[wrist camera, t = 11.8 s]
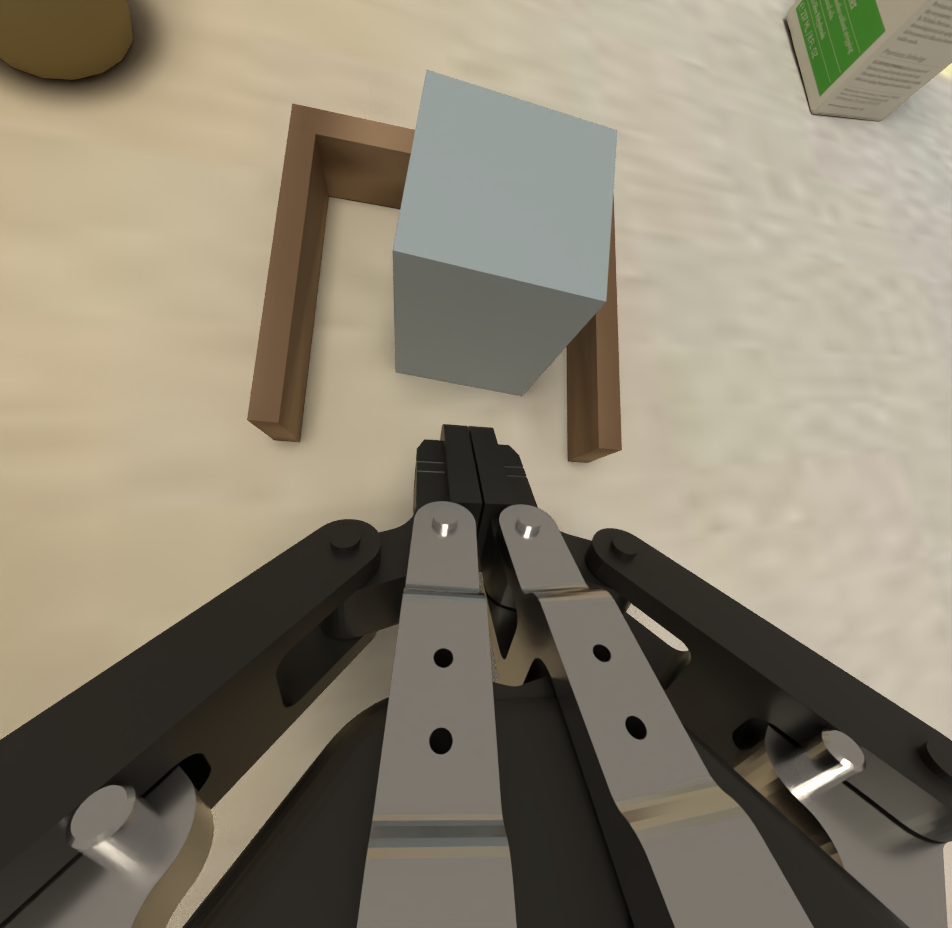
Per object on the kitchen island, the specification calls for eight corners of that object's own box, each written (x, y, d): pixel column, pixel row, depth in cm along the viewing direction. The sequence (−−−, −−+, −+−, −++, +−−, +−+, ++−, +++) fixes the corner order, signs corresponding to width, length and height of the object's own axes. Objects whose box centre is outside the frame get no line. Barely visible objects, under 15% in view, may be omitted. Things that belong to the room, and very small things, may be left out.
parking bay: (274, 439, 16) (247, 419, 13) (309, 169, 19) (292, 103, 16) (587, 462, 19) (621, 449, 16) (583, 221, 21) (612, 172, 18)
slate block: (395, 372, 18) (392, 250, 10) (415, 257, 19) (426, 69, 11) (521, 396, 19) (606, 301, 11) (533, 285, 20) (617, 130, 12)
